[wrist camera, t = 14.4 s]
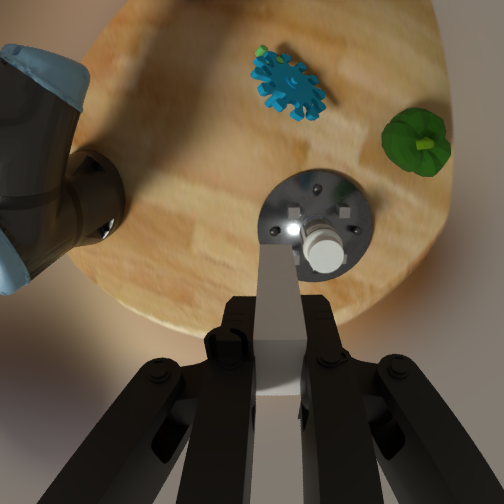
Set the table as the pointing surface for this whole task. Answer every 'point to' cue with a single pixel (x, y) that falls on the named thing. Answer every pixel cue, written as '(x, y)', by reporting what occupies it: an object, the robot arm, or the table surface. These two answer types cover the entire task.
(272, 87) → the gear
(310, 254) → the pill bottle
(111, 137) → the table surface
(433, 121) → the bell pepper
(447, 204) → the table surface
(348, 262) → the hub
